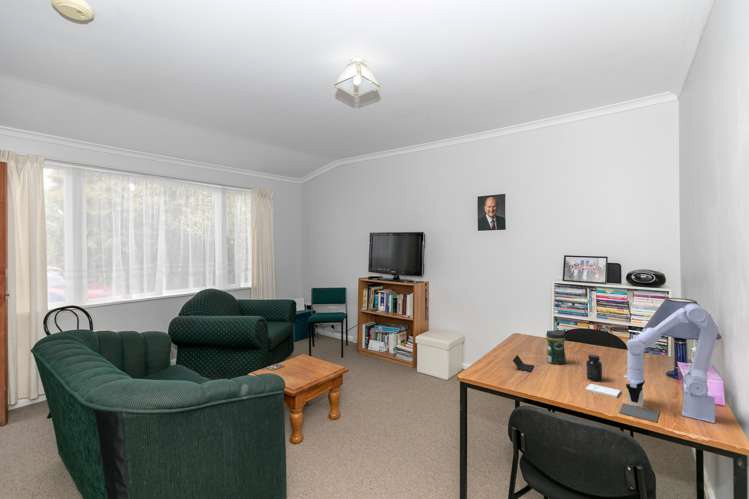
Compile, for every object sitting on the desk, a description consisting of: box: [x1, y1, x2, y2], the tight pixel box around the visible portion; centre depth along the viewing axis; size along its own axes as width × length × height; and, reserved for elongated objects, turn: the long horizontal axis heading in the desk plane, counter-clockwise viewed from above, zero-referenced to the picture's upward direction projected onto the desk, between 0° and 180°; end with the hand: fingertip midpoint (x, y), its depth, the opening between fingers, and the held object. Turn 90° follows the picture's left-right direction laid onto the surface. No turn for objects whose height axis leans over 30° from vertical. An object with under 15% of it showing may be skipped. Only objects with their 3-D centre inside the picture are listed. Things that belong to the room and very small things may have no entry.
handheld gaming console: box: [512, 354, 535, 373], centre depth 197 cm, size 12×7×10 cm
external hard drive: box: [585, 383, 622, 399], centre depth 165 cm, size 2×8×12 cm
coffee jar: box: [545, 330, 567, 365], centre depth 205 cm, size 10×8×19 cm
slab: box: [627, 388, 644, 408], centre depth 152 cm, size 5×3×7 cm, turn 48°
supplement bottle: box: [585, 354, 603, 383], centre depth 180 cm, size 7×7×12 cm
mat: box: [618, 402, 660, 423], centre depth 144 cm, size 12×11×1 cm
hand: (635, 399), depth 152 cm, fingers open, 6 cm apart
